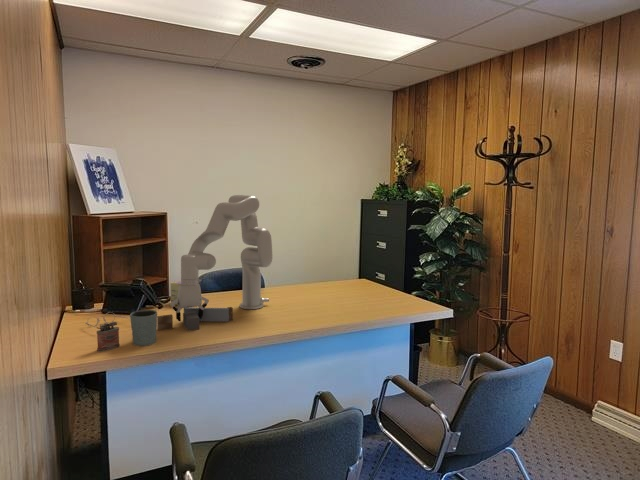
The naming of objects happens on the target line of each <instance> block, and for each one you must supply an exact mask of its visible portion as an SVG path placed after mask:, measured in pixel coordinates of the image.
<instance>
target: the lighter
mask: <svg viewBox="0 0 640 480" xmlns="http://www.w3.org/2000/svg"><path fill="white" fill-rule="evenodd" d="M117 325H118V322H117V321H113V322H112V321H111V322H108V323H106V322H104V324H100V325H99V328H100V329H98V330H96V334H97V339H96V341H97V348H96V350H97V352H105V351H110V350H111V351H112V350H113V349H116V348H117V349H118V348H120V346H121V345H120V332H119V331H120V326H117Z"/></svg>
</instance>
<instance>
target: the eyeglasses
mask: <svg viewBox="0 0 640 480" xmlns="http://www.w3.org/2000/svg"><path fill="white" fill-rule="evenodd" d="M109 313H112V314H113V315H114V318H113V320H112V321H111V322H115V321H114V320H115V318H116V317H119V318H124V319H129V320H131V319H130V317H126V316H121V315H117V314H115V313H113V311H112V312H111V311H109V312H107V314H109ZM107 314H104V315H102V319H103V322H105V323H109V322H108V321H107V319H106V316H107ZM92 317H94V318H96V319H97V321H96V324H95V325H92V324H90V323H89V320H90V318H92ZM100 317H101V315H99V316H98V317H97V316H94V315H92V316H90V318H88V319H87V322H85V325H87V326H88V327H90V328H91V327H94V328H96V329H98V330H100V327H98V324H99V323H100V319H99V318H100Z"/></svg>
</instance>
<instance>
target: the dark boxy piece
mask: <svg viewBox="0 0 640 480" xmlns="http://www.w3.org/2000/svg"><path fill="white" fill-rule="evenodd" d="M182 325H183V326H184V328H185V330H186V331H187V332H188V331H189V332H190V331H195V330H196V331H197V330H200V321H199V317H198V316H197V314H196V313H195V312H187V313H184V312H183V313H182Z"/></svg>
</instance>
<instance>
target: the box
mask: <svg viewBox="0 0 640 480" xmlns="http://www.w3.org/2000/svg"><path fill="white" fill-rule="evenodd" d="M179 285H181V280H174V281H172V282H170V303H171V302H172V301H174V300H176V299H177V296H178V288H179ZM176 305H177V303H176V304H174V306H176ZM177 306H178V305H177Z"/></svg>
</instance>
